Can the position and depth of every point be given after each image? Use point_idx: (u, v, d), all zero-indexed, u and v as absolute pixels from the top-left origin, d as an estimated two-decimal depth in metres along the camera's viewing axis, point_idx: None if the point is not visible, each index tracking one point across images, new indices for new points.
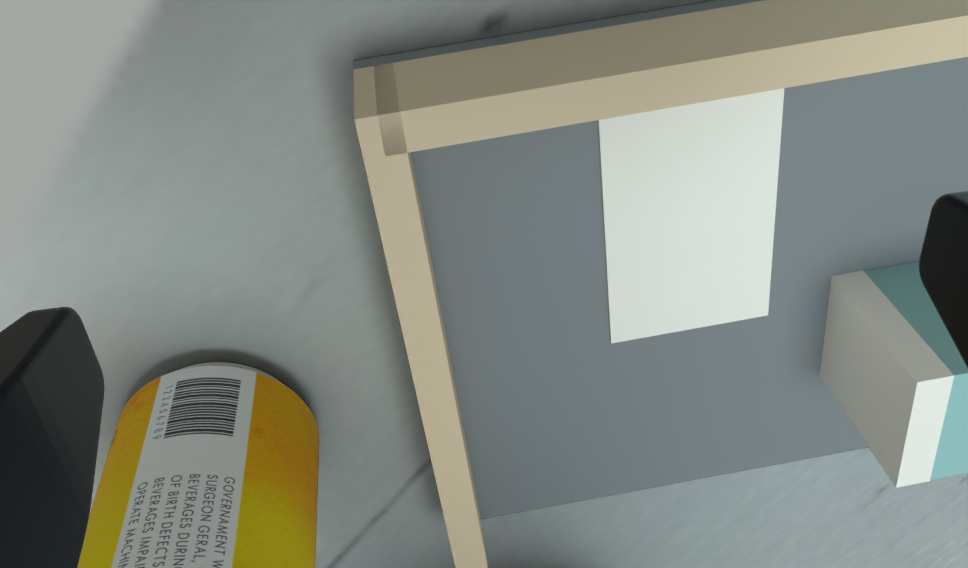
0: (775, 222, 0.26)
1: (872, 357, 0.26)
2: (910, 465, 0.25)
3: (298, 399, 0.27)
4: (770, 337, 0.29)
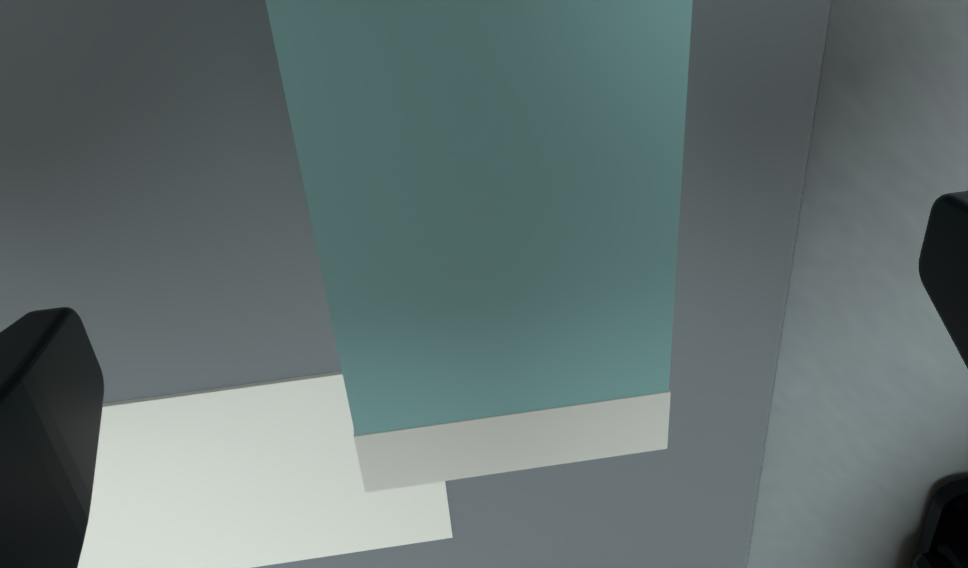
0: (249, 382, 0.17)
1: None
2: (605, 441, 0.12)
3: None
4: None
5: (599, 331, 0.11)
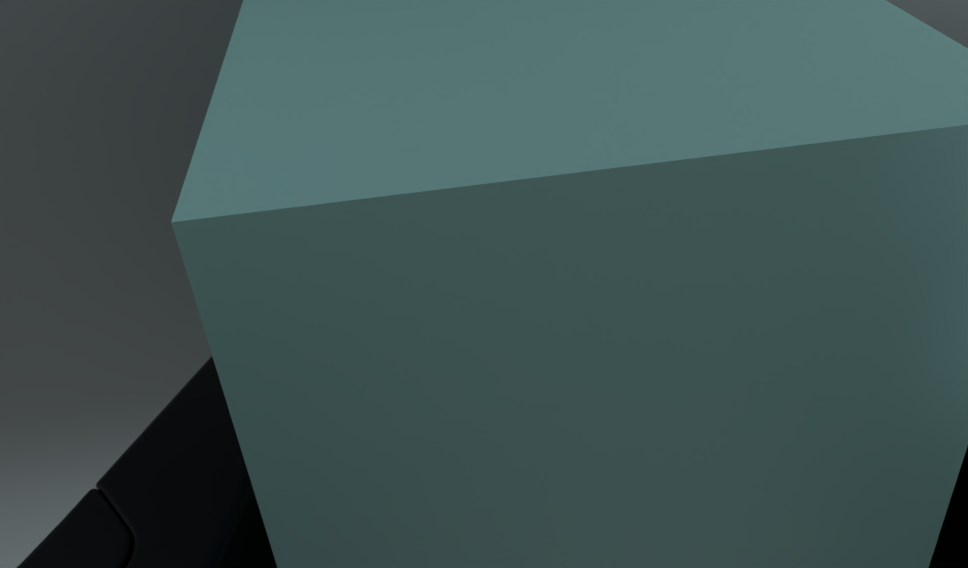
0: None
1: None
2: None
3: None
4: None
5: None
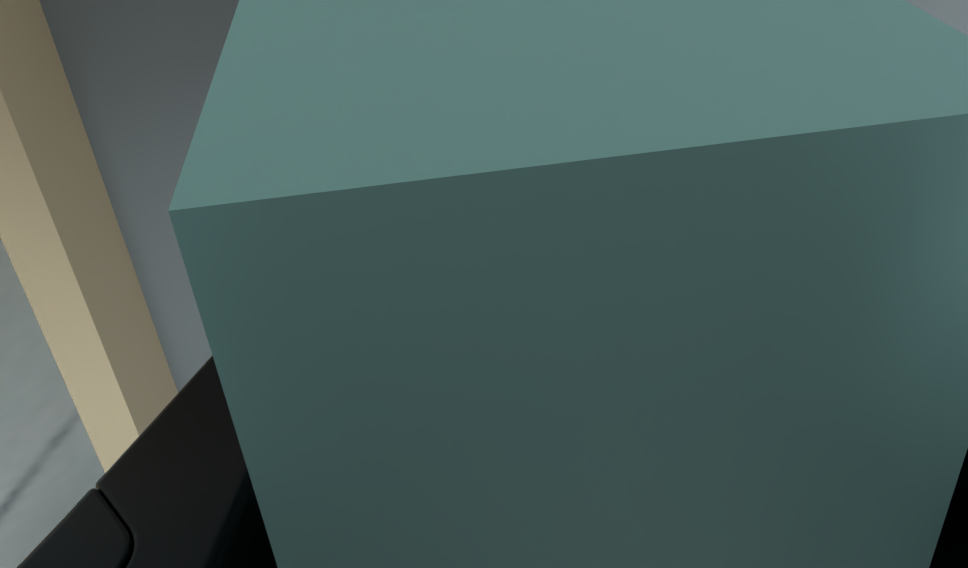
0: None
1: None
2: None
3: None
4: None
5: None
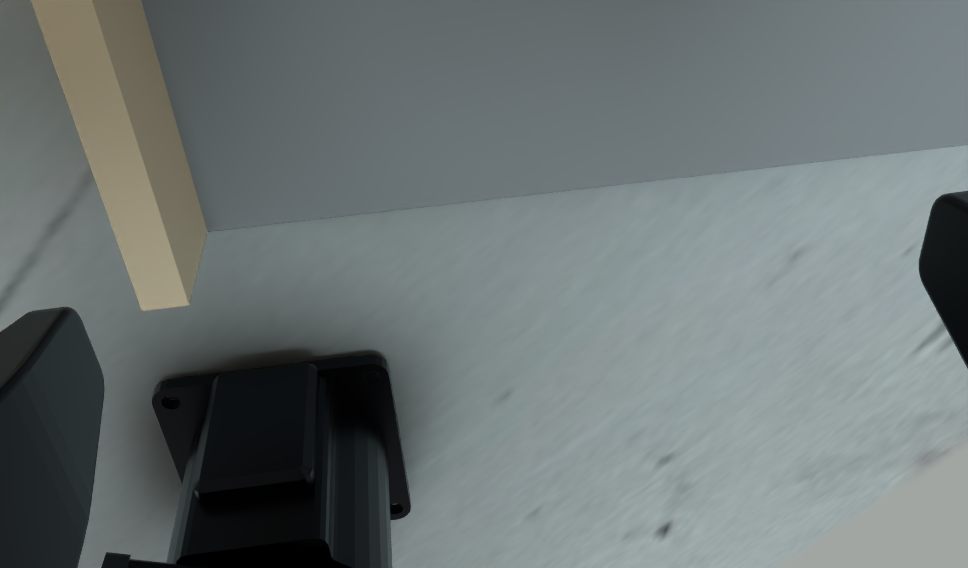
0: None
1: None
2: None
3: None
4: None
5: None
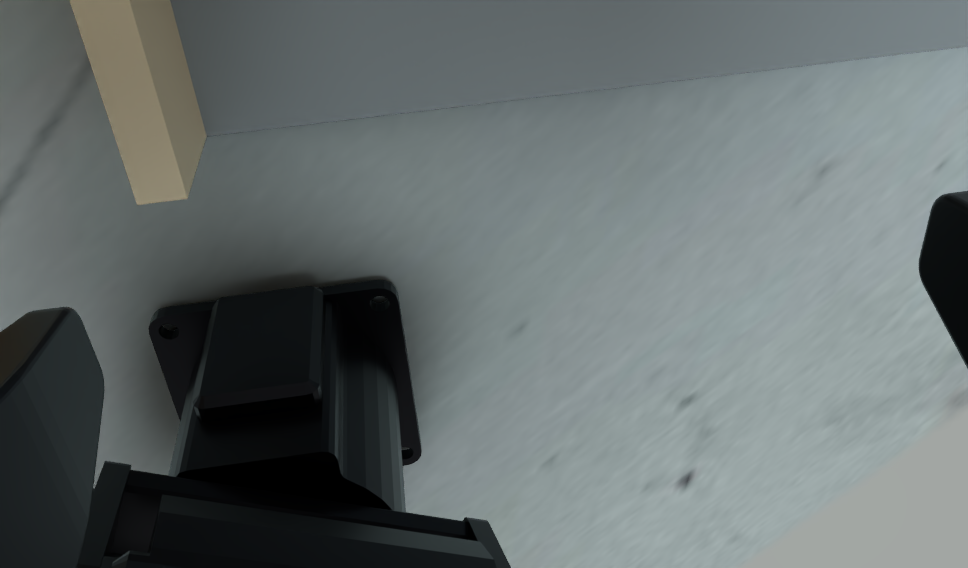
0: None
1: None
2: None
3: None
4: None
5: None
